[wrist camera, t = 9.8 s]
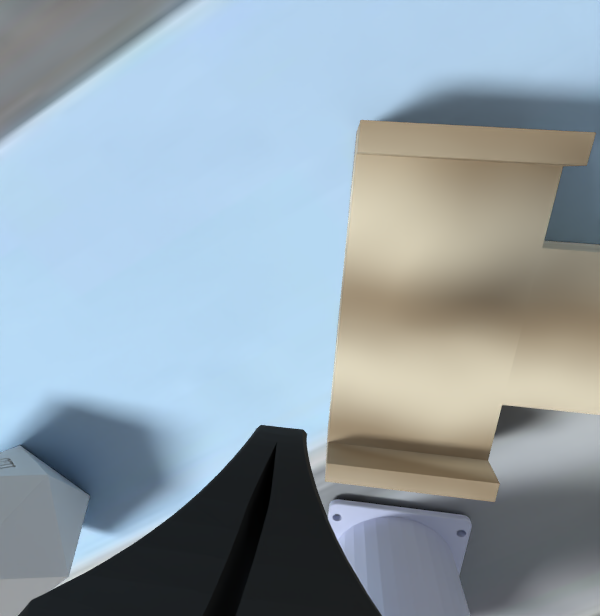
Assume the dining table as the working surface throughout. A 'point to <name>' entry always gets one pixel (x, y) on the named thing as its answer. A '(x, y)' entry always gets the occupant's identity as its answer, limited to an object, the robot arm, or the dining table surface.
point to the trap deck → (456, 303)
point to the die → (35, 528)
